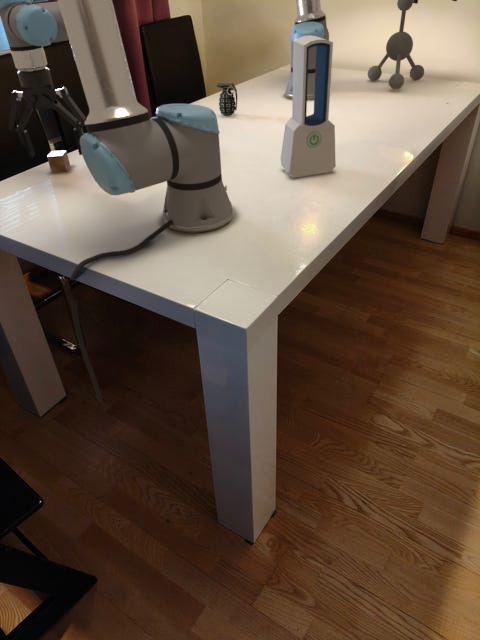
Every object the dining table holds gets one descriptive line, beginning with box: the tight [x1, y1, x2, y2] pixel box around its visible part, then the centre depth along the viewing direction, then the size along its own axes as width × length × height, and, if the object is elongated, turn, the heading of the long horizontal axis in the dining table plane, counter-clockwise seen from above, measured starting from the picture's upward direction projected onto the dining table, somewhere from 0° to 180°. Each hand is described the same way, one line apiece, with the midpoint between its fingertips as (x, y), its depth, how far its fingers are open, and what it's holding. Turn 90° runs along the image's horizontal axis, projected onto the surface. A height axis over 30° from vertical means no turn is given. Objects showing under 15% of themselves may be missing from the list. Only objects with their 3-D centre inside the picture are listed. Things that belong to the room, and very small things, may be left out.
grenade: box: [215, 82, 238, 117], centre depth 166 cm, size 7×6×10 cm
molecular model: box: [367, 0, 425, 91], centre depth 184 cm, size 24×22×30 cm
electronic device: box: [280, 35, 336, 179], centre depth 117 cm, size 12×8×30 cm, turn 105°
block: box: [46, 150, 72, 174], centre depth 134 cm, size 4×4×5 cm
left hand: (57, 155), depth 132 cm, fingers open, 13 cm apart
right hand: (434, 2), depth 170 cm, fingers open, 13 cm apart
